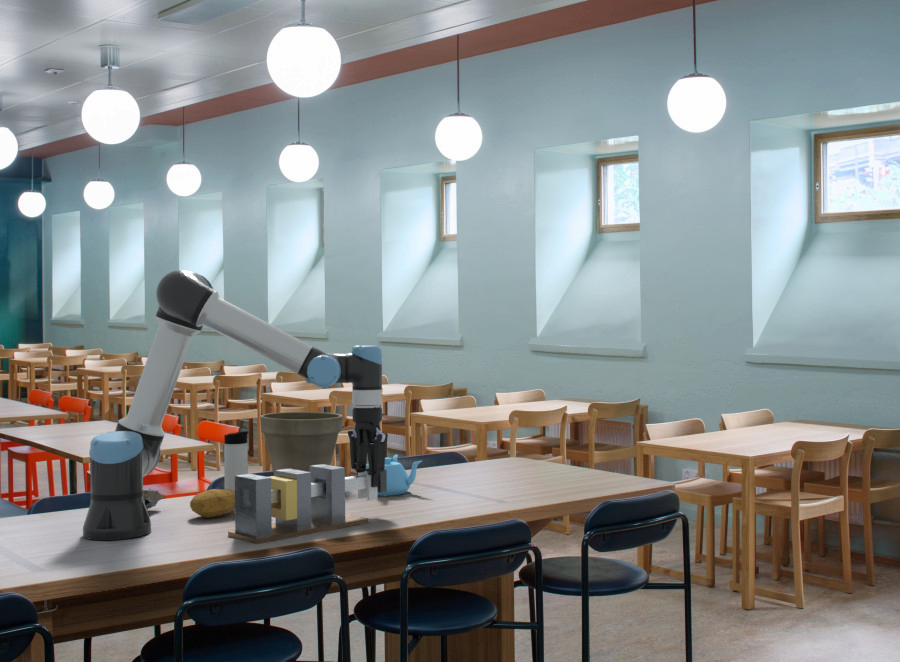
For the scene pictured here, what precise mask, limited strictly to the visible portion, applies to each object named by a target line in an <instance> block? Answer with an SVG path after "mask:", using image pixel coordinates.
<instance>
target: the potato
mask: <svg viewBox="0 0 900 662" xmlns="http://www.w3.org/2000/svg"><path fill="white" fill-rule="evenodd" d="M189 507H190V509H191V511H192V512H194V513H195V514H197V515H198V516H199V517H202V518H205V519H211V518H210V517H212V518H218V517H221V516H224V515H226V514H228V513H230V512H231V511H233V510H234V511H235V492H234V491H232V490H229V489H225V488H221V489H220V488H219V489H218V488H212V489H208V490H204V491H202V492H199V493H197V494H195V495H194V496H192V498H191V501H190V502H189Z"/></svg>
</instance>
